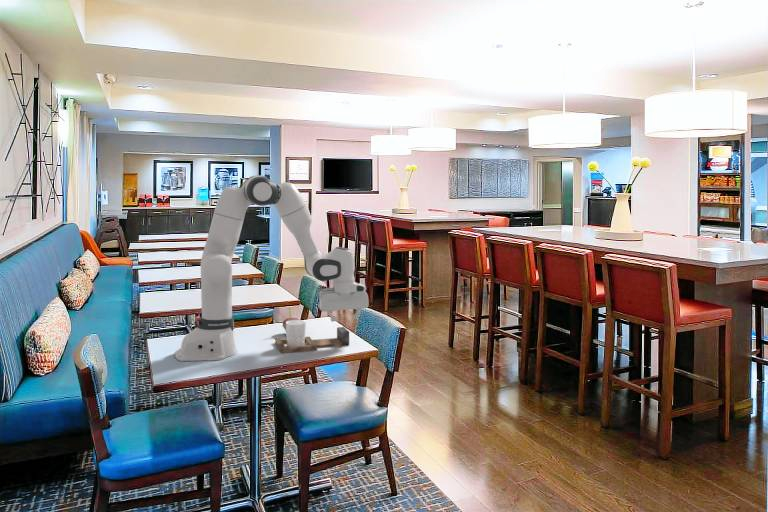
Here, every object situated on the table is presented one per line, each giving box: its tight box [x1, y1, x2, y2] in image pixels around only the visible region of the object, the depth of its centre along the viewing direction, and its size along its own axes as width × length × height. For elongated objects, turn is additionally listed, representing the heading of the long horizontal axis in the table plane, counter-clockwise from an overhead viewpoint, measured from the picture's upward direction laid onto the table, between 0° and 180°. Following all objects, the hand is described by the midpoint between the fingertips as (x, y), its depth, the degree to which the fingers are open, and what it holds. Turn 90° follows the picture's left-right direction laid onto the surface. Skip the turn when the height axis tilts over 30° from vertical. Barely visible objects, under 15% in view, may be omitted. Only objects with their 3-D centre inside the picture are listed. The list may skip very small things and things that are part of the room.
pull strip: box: [275, 326, 350, 354], centre depth 233 cm, size 28×14×6 cm, turn 109°
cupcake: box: [281, 305, 300, 332], centre depth 247 cm, size 9×8×12 cm
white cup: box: [285, 319, 307, 347], centre depth 230 cm, size 8×8×10 cm
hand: (344, 320), depth 236 cm, fingers open, 8 cm apart
